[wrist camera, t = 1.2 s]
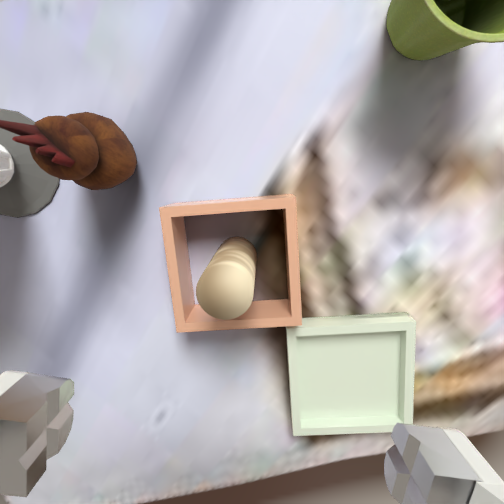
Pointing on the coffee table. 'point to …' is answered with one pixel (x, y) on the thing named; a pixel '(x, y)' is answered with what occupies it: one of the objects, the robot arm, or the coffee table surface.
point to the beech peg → (228, 280)
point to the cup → (21, 174)
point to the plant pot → (443, 25)
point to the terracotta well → (180, 272)
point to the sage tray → (351, 373)
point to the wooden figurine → (78, 148)
